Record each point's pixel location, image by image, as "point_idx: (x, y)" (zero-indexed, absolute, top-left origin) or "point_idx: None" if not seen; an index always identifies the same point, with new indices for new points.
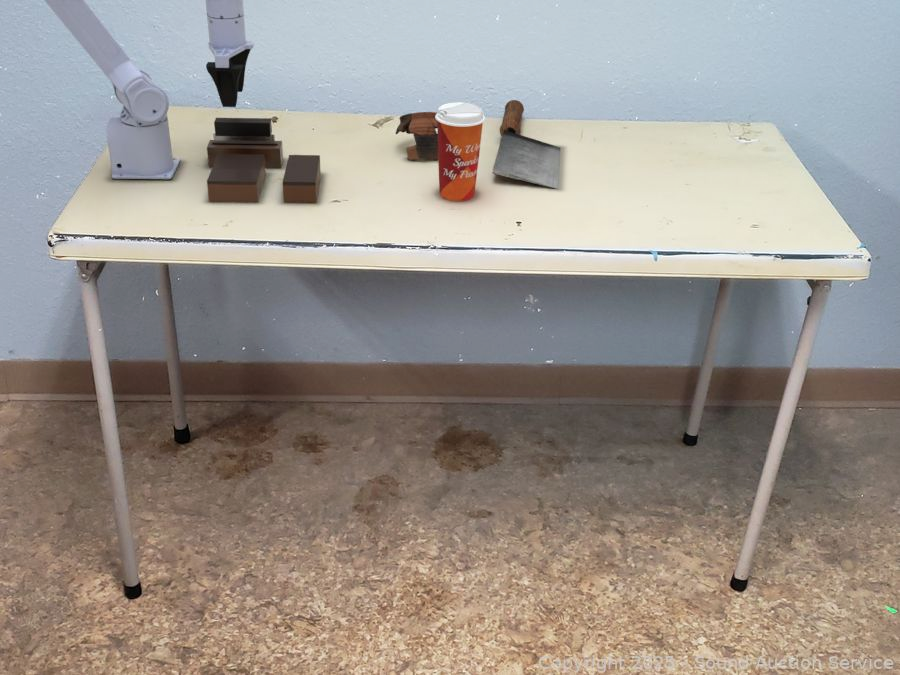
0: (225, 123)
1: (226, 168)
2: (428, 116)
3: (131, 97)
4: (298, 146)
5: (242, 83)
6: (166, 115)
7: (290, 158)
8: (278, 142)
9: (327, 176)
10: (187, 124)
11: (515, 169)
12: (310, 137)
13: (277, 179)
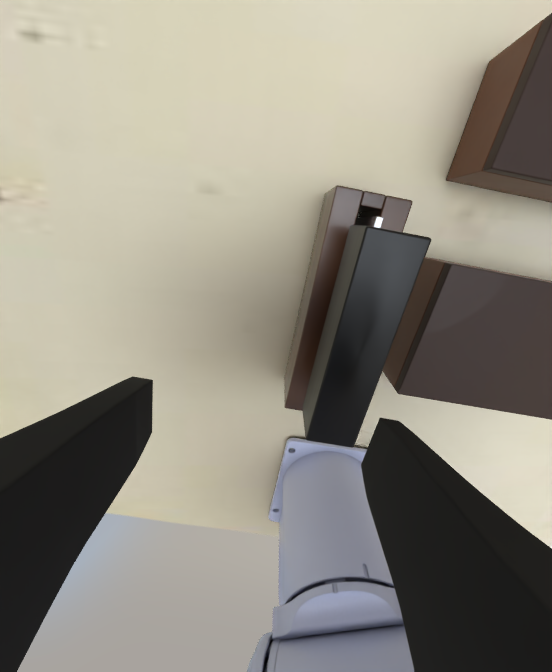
0: (365, 412)
1: (518, 378)
2: None
3: None
4: (209, 124)
5: (127, 403)
6: (373, 594)
7: (532, 165)
8: (351, 201)
9: (508, 31)
10: None
11: None
12: (120, 61)
13: (463, 224)
